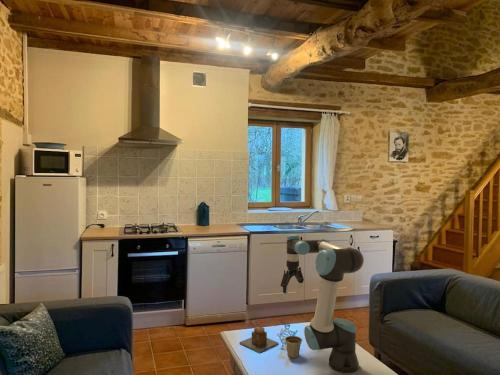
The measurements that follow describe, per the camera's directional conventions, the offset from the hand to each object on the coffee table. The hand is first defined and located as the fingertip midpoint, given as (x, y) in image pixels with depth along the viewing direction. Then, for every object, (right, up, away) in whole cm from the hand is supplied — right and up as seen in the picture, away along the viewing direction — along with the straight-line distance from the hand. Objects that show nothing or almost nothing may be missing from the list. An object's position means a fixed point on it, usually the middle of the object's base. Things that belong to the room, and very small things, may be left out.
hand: (292, 295), depth 221 cm
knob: (-20, -25, -8) cm, 33 cm away
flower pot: (-2, -27, -20) cm, 34 cm away
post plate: (-20, -26, -8) cm, 34 cm away
